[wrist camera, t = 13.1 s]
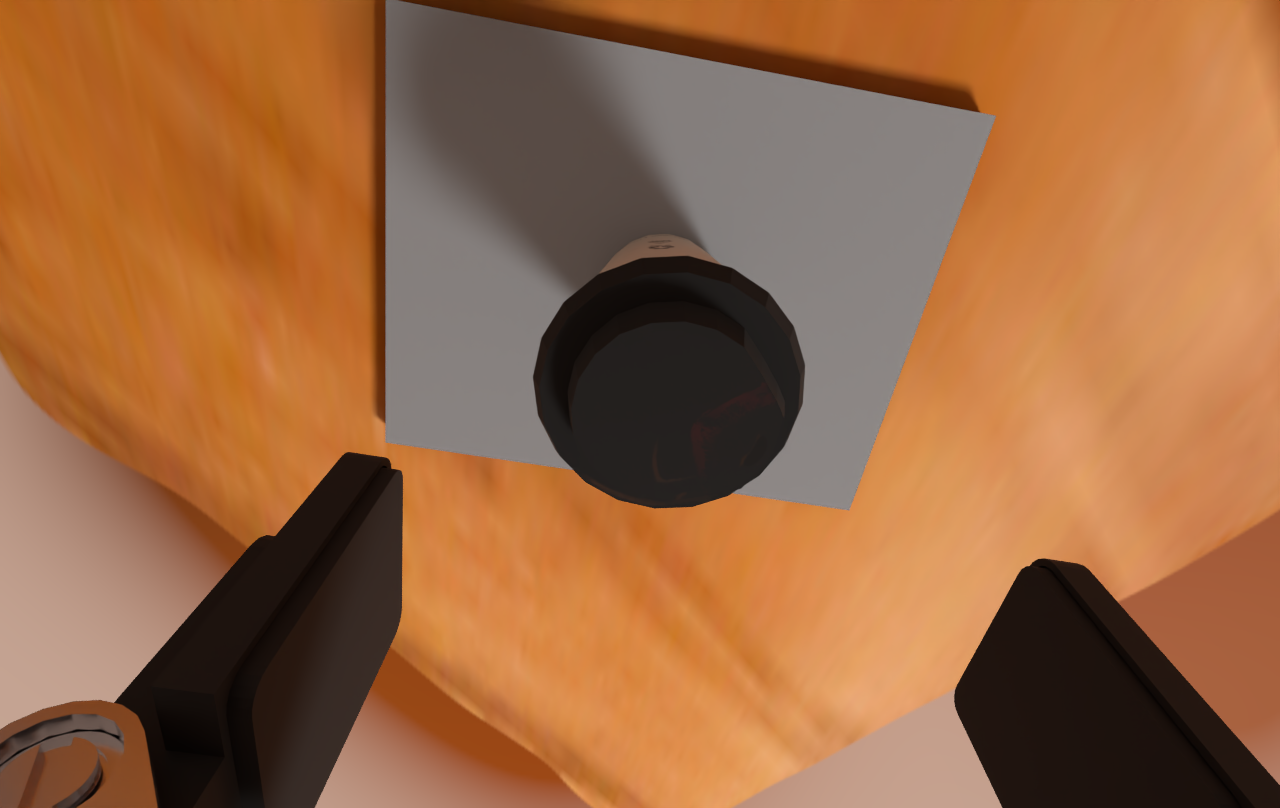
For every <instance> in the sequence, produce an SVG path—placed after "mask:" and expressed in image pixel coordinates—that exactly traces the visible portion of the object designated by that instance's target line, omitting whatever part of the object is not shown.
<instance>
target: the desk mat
mask: <svg viewBox="0 0 1280 808" xmlns="http://www.w3.org/2000/svg"><path fill="white" fill-rule="evenodd" d="M995 117H996V116H994V115H989V114H984V113H979V112H973V111H968V110H963V109H958V108H953V107H948V106H942V105H937V104H932V103H927V102H922V101H916V100H911V99H906V98H901V97H896V96H891V95H885V94H880V93H875V92H870V91H865V90H859V89H854V88H849V87H844V86H839V85H834V84H828V83H823V82H818V81H813V80H808V79H802V78H797V77H792V76H787V75H782V74H777V73H771V72H766V71H761V70H756V69H751V68H745V67H740V66H735V65H730V64H725V63H720V62H714V61H709V60H704V59H699V58H694V57H688V56H683V55H678V54H673V53H668V52H663V51H657V50H652V49H647V48H642V47H637V46H632V45H626V44H621V43H616V42H611V41H606V40H600V39H595V38H590V37H585V36H580V35H575V34H569V33H564V32H559V31H554V30H549V29H543V28H538V27H533V26H528V25H523V24H518V23H512V22H507V21H502V20H497V19H492V18H486V17H481V16H476V15H471V14H466V13H461V12H455V11H450V10H445V9H440V8H435V7H429V6H424V5H419V4H414V3H409V2H404V1H398V0H386V443H393V444H400V445H407V446H414V447H420V448H427V449H434V450H441V451H448V452H455V453H461V454H468V455H475V456H482V457H489V458H496V459H502V460H509V461H516V462H523V463H530V464H536V465H543V466H550V467H557V468H564V469H571V470H573V469H572V468H571V467H570V466H569V465H568V464H567V463H566V462H565V461H564V460H563V459H562V458H561V457H560V456H559V454H558V453H557V451H556V450H555V448H554V446H553V444H552V442H551V440H550V438H549V436H548V434H547V432H546V430H545V428H544V427H543V425H542V423H541V421H540V419H539V417H538V413H537V405H536V397H535V390H534V382H533V374H534V369H535V365H536V360H537V355H538V351H539V346H540V342H541V338H542V336H543V334H544V333H545V331H546V329H547V328H548V326H549V325H550V323H551V321H552V320H553V318H554V317H555V315H556V313H557V312H558V310H559V309H560V307H561V305H562V304H563V302H564V301H566V300H567V299H568V298H569V297H570V296H572V295H573V294H574V293H575V292H577V291H578V290H579V289H580V288H582V287H583V286H584V285H585V284H586V283H588V282H589V281H590V280H591V279H593V278H594V277H595V276H596V275H598V274H599V273H600V272H601V271H602V269H603V268H604V267H605V266H606V265H607V263H608V262H609V261H610V260H611V259H612V257H613V256H614V255H615V254H616V253H617V252H619V251H620V250H621V249H622V248H624V247H625V246H626V245H627V244H628V243H630V242H632V241H634V240H637V239H639V238H642V237H645V236H647V235H657V234H671V235H675V236H678V237H682V238H685V239H688V240H690V241H691V242H693V243H694V244H696V245H697V246H699V247H700V248H702V249H703V250H705V251H706V252H707V253H708V254H709V255H711V256H712V257H713V258H714V259H715V260H717V261H718V262H719V263H720V264H721V265H724V266H728V267H731V268H733V269H735V270H736V271H738V272H739V273H741V274H742V275H744V276H745V277H747V278H748V279H750V280H751V281H753V282H754V283H756V284H757V285H759V286H760V287H762V288H763V289H764V290H766V291H767V292H769V293H770V295H771V296H772V297H773V299H774V300H775V301H776V303H777V304H778V305H779V307H780V308H781V309H782V311H783V312H784V314H785V315H786V316H787V318H788V319H789V320H790V322H791V323H792V324H793V326H794V328H795V331H796V335H797V338H798V342H799V345H800V349H801V352H802V355H803V359H804V362H805V378H804V393H803V405H802V407H801V409H800V412H799V414H798V417H797V419H796V421H795V424H794V426H793V428H792V431H791V433H790V435H789V438H788V440H787V442H786V444H785V446H784V448H783V449H782V450H781V451H780V452H779V454H778V455H777V456H776V457H775V458H774V459H773V461H772V462H771V463H770V464H769V465H768V466H767V468H766V469H765V470H764V471H763V472H762V473H761V474H760V476H758V477H757V478H755V479H753V480H752V481H750V482H749V483H747V484H746V485H744V486H743V487H742V488H741V489H738V490H736V491H735V492H733V493H735V494H741V495H748V496H755V497H762V498H769V499H776V500H782V501H789V502H796V503H803V504H810V505H817V506H823V507H830V508H837V509H844V510H849V509H850V507H851V504H852V501H853V499H854V496H855V493H856V491H857V488H858V485H859V483H860V480H861V477H862V474H863V472H864V469H865V466H866V464H867V461H868V458H869V456H870V453H871V450H872V448H873V445H874V442H875V440H876V437H877V434H878V432H879V429H880V426H881V423H882V421H883V418H884V415H885V413H886V410H887V407H888V405H889V402H890V399H891V397H892V394H893V391H894V389H895V386H896V383H897V380H898V378H899V375H900V372H901V370H902V367H903V364H904V362H905V359H906V356H907V354H908V351H909V348H910V346H911V343H912V340H913V338H914V335H915V332H916V329H917V327H918V324H919V321H920V319H921V316H922V313H923V311H924V308H925V305H926V303H927V300H928V297H929V295H930V292H931V289H932V286H933V284H934V281H935V278H936V276H937V273H938V270H939V268H940V265H941V262H942V260H943V257H944V254H945V252H946V249H947V246H948V244H949V241H950V238H951V235H952V233H953V230H954V227H955V225H956V222H957V219H958V217H959V214H960V211H961V209H962V206H963V203H964V201H965V198H966V195H967V192H968V190H969V187H970V184H971V182H972V179H973V176H974V174H975V171H976V168H977V166H978V163H979V160H980V158H981V155H982V152H983V150H984V147H985V144H986V141H987V139H988V136H989V133H990V131H991V128H992V125H993V123H994V120H995Z"/></svg>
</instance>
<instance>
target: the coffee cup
mask: <svg viewBox="0 0 1280 808" xmlns="http://www.w3.org/2000/svg"><path fill="white" fill-rule="evenodd" d="M804 378H805V362H804V359H803V355H802V352H801V349H800V345H799V342H798V338H797V335H796V331H795V328H794V326H793V324H792V323H791V322H790V320H789V319H788V318H787V316H786V315H785V314H784V312H783V311H782V309H781V308H780V307H779V305H778V304H777V303H776V301H775V300H774V299H773V297H772V296H771V295H770V293H769V292H767V291H766V290H764V289H763V288H762V287H760V286H759V285H757V284H756V283H754V282H753V281H751V280H750V279H748V278H747V277H745V276H744V275H742V274H741V273H739V272H738V271H736V270H735V269H733V268H731V267H728V266H724V265H721V264H720V263H719V262H718V261H717V260H715V259H714V258H713V257H712V256H711V255H709V254H708V253H707V252H706V251H705V250H703V249H702V248H700V247H699V246H697V245H696V244H694V243H693V242H691V241H690V240H688V239H685V238H682V237H678V236H675V235H671V234H657V235H647V236H645V237H642V238H639V239H637V240H634V241H632V242H630V243H628V244H627V245H626V246H625V247H624V248H622V249H621V250H620V251H619V252H617V253H616V254H615V255H614V256H613V257H612V259H611V260H610V261H609V262H608V263H607V265H606V266H605V267H604V268H603V269H602V271H601V272H600V273H599V274H598V275H596V276H595V277H594V278H593V279H591V280H590V281H589V282H588V283H586V284H585V285H584V286H583V287H582V288H580V289H579V290H578V291H577V292H575V293H574V294H573V295H572V296H570V297H569V298H568V299H567V300H566V301H564V302H563V304H562V305H561V307H560V309H559V310H558V312H557V313H556V315H555V317H554V318H553V320H552V321H551V323H550V325H549V326H548V328H547V329H546V331H545V333H544V334H543V336H542V338H541V342H540V346H539V351H538V355H537V360H536V365H535V369H534V374H533V382H534V390H535V397H536V405H537V413H538V417H539V419H540V421H541V423H542V425H543V427H544V428H545V430H546V432H547V434H548V436H549V438H550V440H551V442H552V444H553V446H554V448H555V450H556V451H557V453H558V454H559V456H560V457H561V458H562V459H563V460H564V461H565V462H566V463H567V464H568V465H569V466H570V467H571V468H572V469H573V470H574V471H575V472H576V473H577V474H578V475H579V476H580V477H581V478H582V479H583V480H584V481H585V482H586V483H588V484H590V485H592V486H593V487H595V488H597V489H599V490H601V491H603V492H604V493H606V494H608V495H610V496H612V497H614V498H615V499H617V500H620V501H625V502H629V503H634V504H638V505H642V506H647V507H651V508H675V507H693V506H696V505H700V504H703V503H706V502H709V501H713V500H716V499H719V498H722V497H726V496H728V495H730V494H732V493H733V492H735V491H736V490H738V489H741V488H742V487H743V486H744V485H746V484H747V483H749V482H750V481H752V480H753V479H755V478H757V477H758V476H760V474H761V473H762V472H763V471H764V470H765V469H766V468H767V466H768V465H769V464H770V463H771V462H772V461H773V459H774V458H775V457H776V456H777V455H778V454H779V452H780V451H781V450H782V449H783V448H784V446H785V444H786V442H787V440H788V438H789V435H790V433H791V431H792V428H793V426H794V424H795V421H796V419H797V417H798V414H799V412H800V409H801V407H802V405H803V393H804Z"/></svg>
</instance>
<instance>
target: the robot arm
mask: <svg viewBox="0 0 1280 808" xmlns="http://www.w3.org/2000/svg"><path fill="white" fill-rule="evenodd" d="M402 522H403V475H402V472H401V471H400V470H396V469H391V463H390V460H389V459H388V458H384V457H378V456H371V455H365V454H358V453H352V452H348V453H345V454H344V455H343V456H342V457H341V458H340V459H339V460H338V461H337V463H336V464H335V465H334V466H333V467H332V469H331V470H330V471H329V472H328V473H327V475H326V476H325V477H324V478H323V480H322V481H321V482H320V483H319V484H318V486H317V487H316V488H315V489H314V490H313V492H312V493H311V494H310V495H309V496H308V498H307V499H306V500H305V501H304V502H303V504H302V505H301V506H300V507H299V508H298V510H297V511H296V512H295V513H294V514H293V516H292V517H291V518H290V519H289V520H288V522H287V523H286V524H285V525H284V526H283V528H282V529H281V530H280V531H279V532H278V534H277V535H276V536H269V535H266V536H263V537H260V538H258V539H257V540H256V541H255V542H254V543H253V544H252V545H251V546H250V547H249V548H248V549H247V550H246V551H245V552H244V554H243V555H242V556H241V557H240V558H239V559H238V561H237V562H236V563H235V564H234V565H233V566H232V567H231V569H230V570H229V571H228V572H227V573H226V574H225V576H224V577H223V578H222V579H221V580H220V581H219V583H218V584H217V585H216V586H215V587H214V588H213V589H212V590H211V592H210V593H209V594H208V595H207V596H206V597H205V599H204V600H203V601H202V602H201V603H200V604H199V605H198V607H197V608H196V609H195V610H194V611H193V612H192V613H191V615H190V616H189V617H188V618H187V619H186V620H185V622H184V623H183V624H182V625H181V626H180V627H179V628H178V630H177V631H176V632H175V633H174V634H173V635H172V637H171V638H170V639H169V640H168V641H167V642H166V643H165V645H164V646H163V647H162V648H161V649H160V650H159V651H158V653H157V654H156V655H155V656H154V657H153V659H152V660H151V661H150V662H149V663H148V664H147V665H146V667H145V668H144V669H143V670H142V671H141V672H140V674H139V675H138V676H137V677H136V678H135V679H134V680H133V682H132V683H131V684H130V685H129V686H128V687H127V688H126V690H125V691H124V692H123V693H122V694H121V695H120V696H119V698H118V699H117V700H116V701H115V702H114V703H111V702H107V701H102V700H92V701H74V702H69V703H65V704H61V705H57V706H53V707H49V708H45V709H42V710H40V711H37V712H35V713H32V714H30V715H28V716H26V717H23V718H21V719H19V720H16V721H14V722H12V723H10V724H8V725H6V726H5V727H3V728H2V729H1V730H0V808H315V805H316V804H317V801H318V799H319V797H320V795H321V793H322V791H323V789H324V787H325V784H326V782H327V780H328V778H329V776H330V774H331V771H332V769H333V767H334V765H335V763H336V761H337V759H338V757H339V754H340V752H341V750H342V748H343V746H344V744H345V742H346V739H347V737H348V735H349V733H350V731H351V729H352V727H353V724H354V722H355V720H356V718H357V716H358V714H359V712H360V709H361V707H362V705H363V703H364V701H365V699H366V697H367V695H368V692H369V690H370V688H371V686H372V684H373V682H374V680H375V677H376V675H377V673H378V671H379V669H380V667H381V665H382V663H383V660H384V658H385V656H386V654H387V652H388V650H389V648H390V645H391V643H392V641H393V639H394V637H395V635H396V632H397V629H398V626H399V622H400V618H401V611H402ZM954 699H955V700H954V702H955V707H956V710H957V713H958V716H959V718H960V720H961V722H962V724H963V726H964V728H965V730H966V732H967V734H968V736H969V738H970V741H971V743H972V745H973V747H974V749H975V751H976V753H977V755H978V757H979V760H980V761H981V764H982V765H983V768H984V770H985V772H986V774H987V776H988V778H989V780H990V783H991V785H992V787H993V789H994V791H995V793H996V795H997V797H998V799H999V801H1000V803H1001V806H1002V808H1280V785H1279V784H1278V783H1277V782H1276V781H1275V779H1274V778H1273V777H1272V776H1271V775H1270V774H1269V773H1268V772H1267V770H1266V769H1265V768H1264V767H1263V766H1262V765H1261V764H1260V762H1259V761H1258V760H1257V759H1256V758H1255V757H1254V756H1253V755H1252V753H1251V752H1250V751H1249V750H1248V749H1247V748H1246V747H1245V746H1244V744H1243V743H1242V742H1241V741H1240V740H1239V739H1238V738H1237V736H1236V735H1235V734H1234V733H1233V732H1232V731H1231V730H1230V729H1229V728H1228V727H1227V725H1226V724H1225V723H1224V722H1223V721H1222V720H1221V718H1220V717H1219V716H1218V715H1217V714H1216V713H1215V712H1214V711H1213V709H1212V708H1211V707H1210V706H1209V705H1208V704H1207V703H1206V702H1205V700H1203V698H1202V697H1201V696H1200V695H1199V694H1198V692H1197V691H1196V690H1195V689H1194V688H1193V687H1192V686H1191V685H1190V683H1189V682H1188V681H1187V680H1186V679H1185V678H1184V677H1183V676H1182V674H1181V673H1180V672H1179V671H1178V670H1177V669H1176V668H1175V667H1174V666H1173V664H1172V663H1171V662H1170V661H1169V660H1168V659H1167V657H1166V656H1165V655H1164V654H1163V653H1162V652H1161V651H1160V650H1159V648H1158V647H1157V646H1156V645H1155V644H1154V643H1153V642H1152V641H1151V640H1150V638H1149V637H1148V636H1147V635H1146V634H1145V633H1144V631H1143V630H1142V629H1141V628H1140V627H1139V626H1138V625H1137V624H1136V622H1135V621H1134V620H1133V619H1132V618H1131V617H1130V616H1129V615H1128V613H1127V612H1126V611H1125V610H1124V609H1123V608H1122V607H1121V605H1120V604H1119V603H1118V602H1117V601H1116V600H1115V599H1114V598H1113V596H1112V595H1111V594H1110V593H1109V592H1108V591H1107V590H1106V589H1105V587H1104V586H1103V585H1102V584H1101V583H1100V582H1099V581H1098V579H1097V578H1096V577H1095V576H1094V575H1093V574H1092V573H1091V572H1090V570H1088V569H1087V568H1086V567H1085V566H1083V565H1080V564H1077V563H1070V562H1064V561H1057V560H1051V559H1038V560H1036V561H1034V562H1033V563H1032V564H1031V565H1030V566H1027V567H1025V568H1023V569H1022V570H1021V571H1020V572H1019V574H1018V576H1017V578H1016V579H1015V581H1014V583H1013V585H1012V587H1011V588H1010V590H1009V592H1008V594H1007V596H1006V597H1005V599H1004V601H1003V603H1002V605H1001V606H1000V608H999V610H998V612H997V614H996V616H995V617H994V619H993V621H992V623H991V625H990V626H989V628H988V630H987V632H986V634H985V635H984V637H983V639H982V641H981V643H980V645H979V646H978V648H977V650H976V652H975V654H974V655H973V657H972V659H971V661H970V663H969V664H968V666H967V668H966V670H965V672H964V673H963V675H962V677H961V679H960V681H959V683H958V684H957V687H956V689H955V695H954Z"/></svg>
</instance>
